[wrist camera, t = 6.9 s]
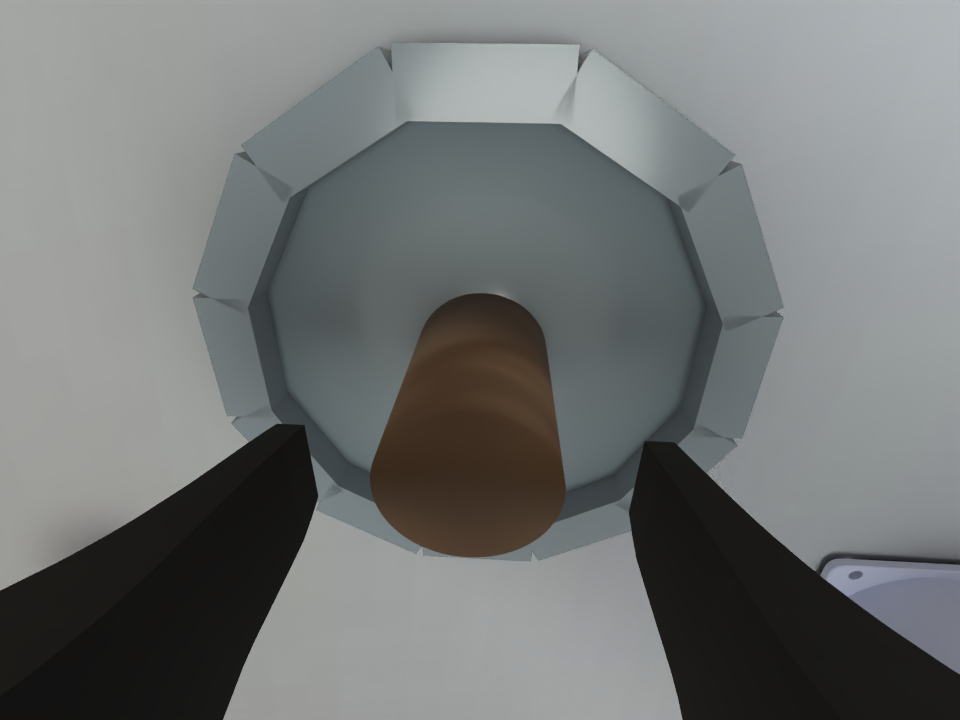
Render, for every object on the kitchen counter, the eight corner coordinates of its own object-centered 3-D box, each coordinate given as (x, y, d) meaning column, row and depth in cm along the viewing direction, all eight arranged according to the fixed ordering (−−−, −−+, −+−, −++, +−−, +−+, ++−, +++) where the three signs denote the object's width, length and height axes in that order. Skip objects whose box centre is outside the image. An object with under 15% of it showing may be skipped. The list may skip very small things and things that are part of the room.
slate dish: (820, 54, 12) (875, 47, 10) (679, 527, 19) (696, 570, 18) (173, 47, 12) (117, 39, 11) (286, 507, 20) (264, 546, 18)
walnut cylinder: (551, 295, 14) (575, 414, 9) (541, 408, 16) (556, 562, 11) (415, 291, 14) (359, 405, 9) (421, 404, 16) (379, 552, 11)
